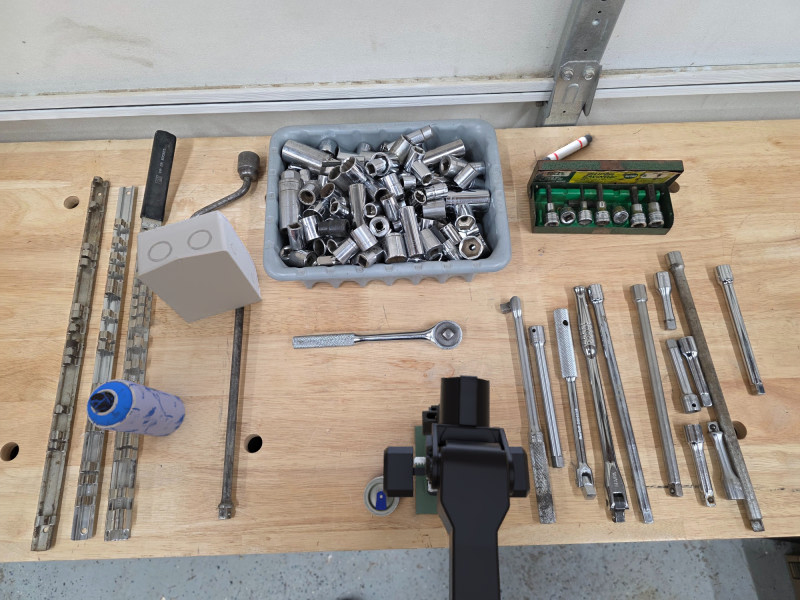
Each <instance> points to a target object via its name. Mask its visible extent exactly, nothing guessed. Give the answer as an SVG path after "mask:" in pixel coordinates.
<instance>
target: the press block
mask: <svg viewBox="0 0 800 600" xmlns="http://www.w3.org/2000/svg"><path fill="white" fill-rule="evenodd" d="M414 454H415V455H414V457H426V436H423V435H422V425H415V426H414ZM414 467H425V464H424V465H423V463H422V464H421V465H420V463H419V464H418V465H417V463H416V464H415V465H414ZM415 515H438V513H437V496H431V495H429V494H428V492H427V479H426V476H415Z"/></svg>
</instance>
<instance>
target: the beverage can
mask: <svg viewBox="0 0 800 600" xmlns="http://www.w3.org/2000/svg"><path fill="white" fill-rule="evenodd" d="M362 499H363V504H364V506H365V508H366V509H367V511H368V512H369V513H370V514H372V515H374V516H377V517H387V516H388V515H390V514H392V513H393V512H394V511H395V510H396V509H397V507H398V505H399V503H400V500H401V497H387V496H386V495H385V494H384V493H383V475H381V476H377V477H375V478H373V479H372V480H371V481H369V482H368V483H367V485H366V486H365V488H364V491H363V498H362Z"/></svg>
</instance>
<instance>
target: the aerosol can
mask: <svg viewBox="0 0 800 600" xmlns="http://www.w3.org/2000/svg"><path fill="white" fill-rule="evenodd" d="M85 413H86V417H87V419H88V420H89V422H90V423H91V424H92V425H93V426H94V427H96V428H98V429H100V430H106V431H110V432H111V431H112V432H119V433H126V434H127V433H129V434H136V435H145V436H152V437H159V438H160V437H166V436H169V435H171V434H174V433H175V432H176V431H177V430H178V429H179V428H180V427H181V425H182V423H183V422H184V419H185V415H186V408H185V404H184V402H183V400H182V399H181V398H180V397H178V396H177V395H175V394H172V393H169V392H166V391H163V390H160V389H156V388H153V387H151V386H146V385H143V384H140V383H137V382H133V381H131V380H127V379H122V378H115V379H109V380H106V381H104V382H102V383H100V384H98V386H96V387H95V388H94V389H93V391H92V392H91V393H90V395H89V397H88V399H87V401H86V407H85Z"/></svg>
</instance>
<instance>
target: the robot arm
mask: <svg viewBox="0 0 800 600" xmlns="http://www.w3.org/2000/svg"><path fill="white" fill-rule="evenodd" d="M490 383H491V381H490V380H488V379H484V378H479V377H478V376H477V375H463V374H460V375H459V376H449V377H445V376H444V377H443V376H442V377H440V387H439V388H440V389H439V391H440V392H439V403H438V404H432V405H430V406H428V408H427V409H428V410H422V411H421V426H422V435H423V436H426V457H415V456H414V446H410V445H409V446H407V445H406V446H400V445H399V446H391V445H389V446H387V447H386V448H385V449H384V450H383V462H382V463H383V465H382V466H383V467H382V469H383V471H382V476H383V493H384V494H385V495H386V496H387V497H400V498H414V497H415V496H414V495H415V494H414V492H415V491H414V490H415V489H414V487H415V486H414V484H415V483H414V481H415V480H414V477H416V476H426V479H427V492H428V494H429V495H431V496H437V513H438V514H437V515H438V518H439V519H440V521H441V523H442V525H443V527H444V528H445V530H446V532H447V534H448V600H502V596H501V593H502V592H501V575H500V573H501V572H500V557H499V556H500V555H499V530H500V528H501V526H502V524H503V523H504V520H505V518H506V516H507V514H508V513H509V510H510V508H511V499H515V498H516V499H518V498H519V499H526V498H527V497H528V496H529V495H530V493H531V481H530V471H529V459H528V453H527V451H526V449H525V448H524V447H523V446H510V445H509V441H508V438H507V435H506V431H505V428H504V427H495V426H493V427H492V426H491V384H490ZM416 463H417V465H418V464H419V463H420V465H421V464H422V463H423V465H424V464H425V467H415V464H416Z"/></svg>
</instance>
